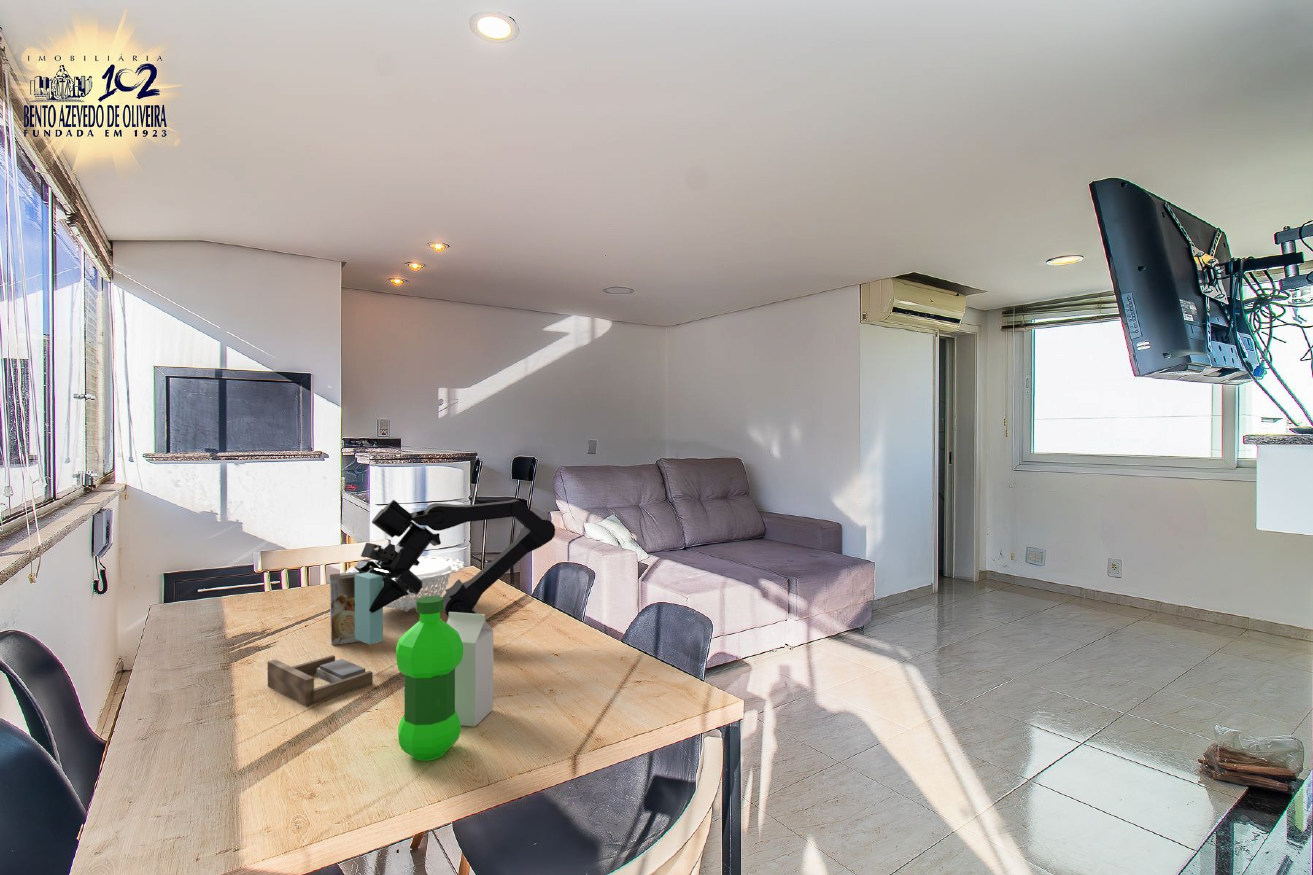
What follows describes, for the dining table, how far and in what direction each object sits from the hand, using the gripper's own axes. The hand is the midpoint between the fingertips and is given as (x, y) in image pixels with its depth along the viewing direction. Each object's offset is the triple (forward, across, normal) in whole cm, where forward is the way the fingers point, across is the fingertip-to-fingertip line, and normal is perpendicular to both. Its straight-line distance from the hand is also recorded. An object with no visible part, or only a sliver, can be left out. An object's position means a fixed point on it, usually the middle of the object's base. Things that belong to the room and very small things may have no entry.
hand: (362, 609), depth 139 cm
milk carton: (+10, +36, +10) cm, 38 cm away
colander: (-12, -33, +32) cm, 47 cm away
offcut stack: (+13, 0, +6) cm, 14 cm away
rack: (+16, 0, +3) cm, 16 cm away
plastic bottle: (+18, +41, +1) cm, 45 cm away
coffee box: (+3, -22, +16) cm, 28 cm away
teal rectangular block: (+4, 0, +6) cm, 7 cm away
